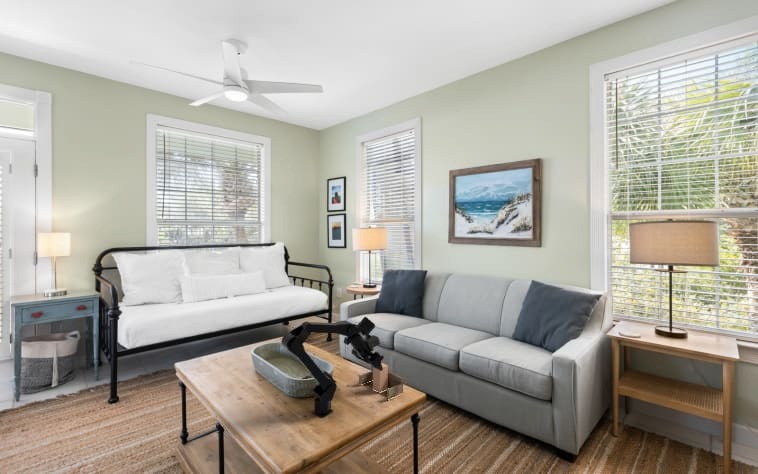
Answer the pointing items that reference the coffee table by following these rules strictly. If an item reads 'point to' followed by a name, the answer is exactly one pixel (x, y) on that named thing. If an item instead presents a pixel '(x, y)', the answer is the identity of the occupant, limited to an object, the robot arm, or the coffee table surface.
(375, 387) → the terracotta block
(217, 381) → the coffee table surface
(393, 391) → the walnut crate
